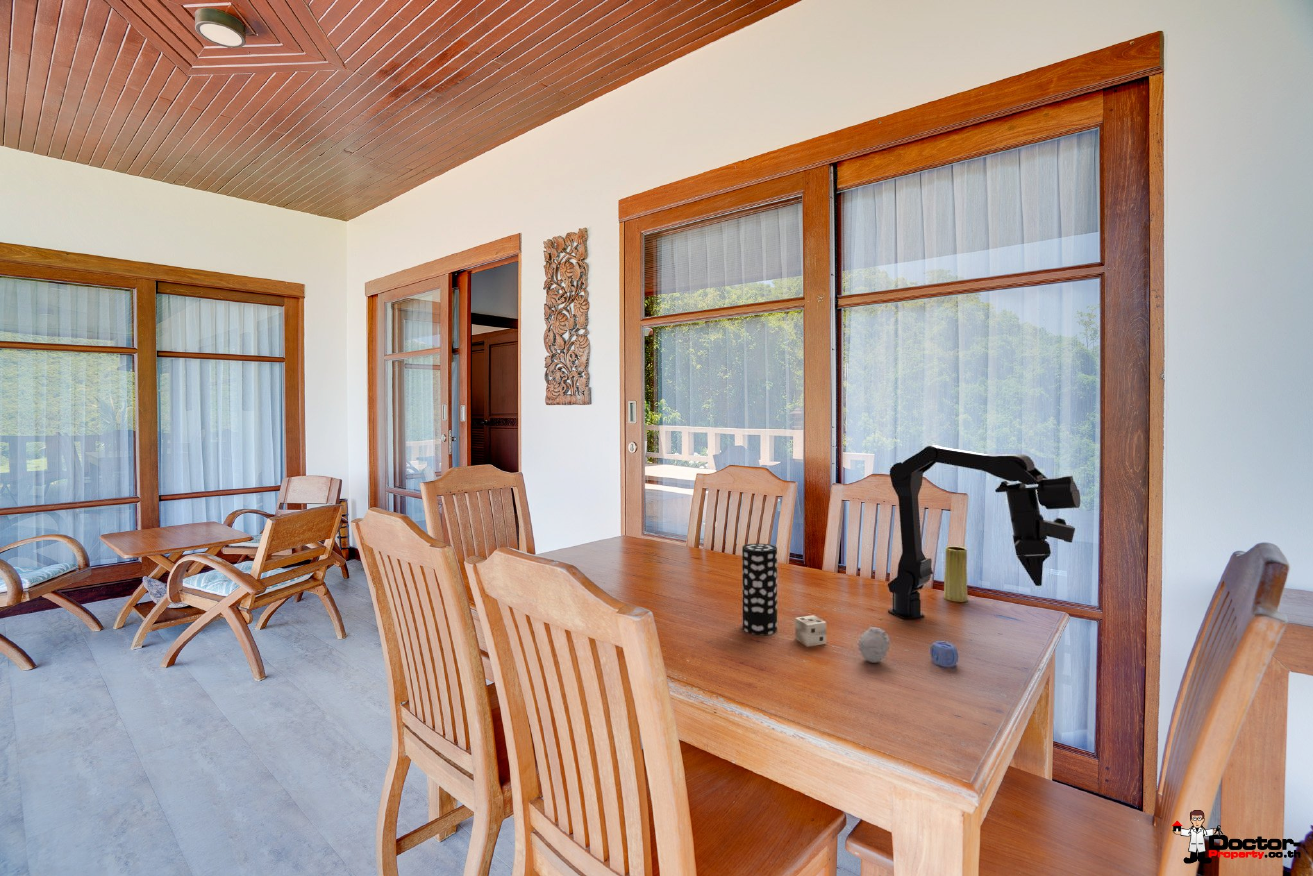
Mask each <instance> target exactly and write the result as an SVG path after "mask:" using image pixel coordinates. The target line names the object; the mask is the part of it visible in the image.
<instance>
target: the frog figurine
mask: <svg viewBox="0 0 1313 876" xmlns="http://www.w3.org/2000/svg"><path fill="white" fill-rule="evenodd" d="M890 641H891V639H890V637H889V636H888V633H886V631H885V630H884V629H882V628H880V627H876V626H869V627H868V629H866V630H865V632H863V633H862V634H861V636H860V638H859V640H858V642H857V646H858V650H859V652H860V654H861V656H862V657H863V658H864V660H865V661H867V662H869V663H873V664H875V663H879V662H881V661H883V660H884V658H885V657H886V656H887V652H888V651H889V649H890V647H889V646H890V644H891V643H890Z"/></svg>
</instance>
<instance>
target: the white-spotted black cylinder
mask: <svg viewBox="0 0 1313 876" xmlns="http://www.w3.org/2000/svg"><path fill="white" fill-rule="evenodd" d="M741 549H742V550H741V551H742V553H741V554H742V555H741V558H742V559H741V560H742V564H741V565H742V568H741V570H742V572H741V573H742V575H741V576H742V582H741V583H742V588H741V589H742V630H743V631H744V632H745V633H749V634H751V635H758V636H764V635H765V636H767V635H772V634H774V633H776V632H777V631H778V547H777V546H776V545H772V544H769V543H748V544H744V545H742V546H741Z"/></svg>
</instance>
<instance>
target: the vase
mask: <svg viewBox="0 0 1313 876" xmlns="http://www.w3.org/2000/svg"><path fill="white" fill-rule="evenodd" d="M967 553H968V549H967V548H966V547H963V546H953V545H952V546H946V547H945V559H944V560H945V562H944V563H945V564H944V581H943V582H944V583H943V596H942V597H943V598H944V599H945V600H947V601H950V602H954V603H964V602H965V603H966V602H967V601H968V600H969V599H968V598H969V597H968V573H967V572H968V571H967V570H968V569H967V567H968V566H967V565H968V556H967V555H968V554H967Z"/></svg>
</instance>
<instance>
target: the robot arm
mask: <svg viewBox="0 0 1313 876" xmlns="http://www.w3.org/2000/svg"><path fill="white" fill-rule="evenodd" d="M936 463H939V464H944V465H950V466H953V467H954V466H956V467H961V468H966V469H973V470H978V471H982V472H985V473H988V474H990V475H991V476H994V477H996V478H999V479H1002V480H1003V481H1001V482H1000V484H999V486H998V487H997V488H996V489H995V490H994V491H995V492H996V493H1005V494H1006V500H1007V505H1008V509H1009V517H1010V522H1011V526H1012V533H1013V535H1012V540H1013V544H1014V549H1015V555H1016V557H1017V559H1018V560H1019V562H1020V563H1021V565H1022V566H1023V568H1024V570H1025V571H1026V573H1027V575H1028V576H1029V578H1030V579H1031V580H1032V582H1033V584H1034V586H1036V587H1041V586H1043V572H1044V570H1043V569H1044V567H1043V566H1044V562H1045V561H1046V560H1047V559H1048V558H1050V556H1051V554H1052V551H1051V547H1050V544H1049V542H1048V541H1047V540H1048V537H1049V538H1053V539H1057V540H1061V541H1064V542H1065V543H1073V539H1074V537H1075V532H1076V528H1075V527H1074V526H1073V525H1071V524H1067V523H1066V519H1064V518H1060V517H1056V518H1055V519H1053V521H1051V520H1045V519H1044V516H1043V515H1042V514H1041V510H1040V506H1042V507H1045V509H1046V510H1061V509H1062V510H1064V509H1066V510H1067V509H1079V508H1080V505H1081V494H1080V489H1078V487H1077V484H1076V482H1075V481H1074V477H1073V476H1072V475H1065V476H1062V477H1054V478H1053V477H1052V478H1051V477H1050V478H1048V477H1047V476H1046V475H1045V474H1044V473H1042V472H1041V471H1040V470H1039V469H1037V467H1036V466H1035V463H1034V461H1033V459H1032V458H1031V457H1030V456H1029V455H1026V454H1023V453H1022V454H1021V453H1019V454H1017V453H1015V454H1013V453H1012V454H1009V453H1008V454H1006V453H1005V454H1002V453H1001V454H989V453H988V454H987V453H981V452H975V451H970V450H969V451H968V450H963V449H956V448H949V447H943V446H941V445H937V444H935V445H927V446H925V447H924V448H923V449H922V450H920V451H919V452H917V453H916V454H914V455H912V456H911V457H908V458H907V459H905V460H904V461H900V462H896V463H894V464H893V465H892V466H891V467H890V469H889V477H890V481H891V485H892V488H893V490H894V492H895V494H896V495H897V498H898V511H899V525H900V526H899V527H900V537H901V538H900V539H901V555H900V559H899V561H898V563H897V564H898V565H897V574H896V577H895V578H893V579H892V580H891V581H890V582H888V583H887V587H888V589H889V590H888V591H889V592H890V593H892V608H889V609H887V612H888V613H890V614H891V615H894V616H897V617H898V618H901V619H903V620H910V619H917V618H923V617H925V613H922V611H921V606H922V603H921V593H920V592H919V591H920V590H923V588H924V586H925V585H926V584H927V583H928V582H929V581H930V580H931V578H932V577H931V576H932V575H934V572H933V569H932V562H933V561H932V558H930V557H929V558H926V555H924V554H925V553H923V547H922V545H923V544H922V535H921V534H922V533H921V520H920V519H921V518H920V507H919V504H920V503H919V494H920V490H921V488H922V486H923V478H924V473H926V472H927V471H928V470H930V469H931V468H933V466H934V465H935V464H936ZM1009 482H1015V483H1009ZM1017 482H1018V483H1017ZM1032 485H1033V486H1032ZM1035 485H1036V486H1035Z"/></svg>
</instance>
